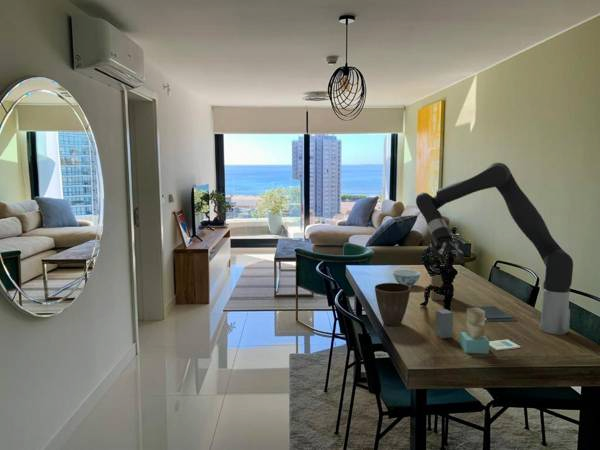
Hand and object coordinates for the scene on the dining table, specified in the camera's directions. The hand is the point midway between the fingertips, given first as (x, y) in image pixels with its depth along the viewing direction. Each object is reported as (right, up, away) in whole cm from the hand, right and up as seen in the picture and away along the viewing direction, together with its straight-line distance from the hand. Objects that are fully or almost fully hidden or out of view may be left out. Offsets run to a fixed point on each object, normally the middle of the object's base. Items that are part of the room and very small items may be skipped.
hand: (454, 263), depth 177 cm
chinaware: (-2, -19, +71) cm, 74 cm away
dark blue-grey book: (+24, -26, +21) cm, 41 cm away
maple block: (+2, -25, -17) cm, 30 cm away
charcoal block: (-6, -29, -4) cm, 29 cm away
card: (+13, -30, -14) cm, 35 cm away
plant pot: (-23, -27, +11) cm, 37 cm away
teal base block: (+1, -30, -16) cm, 34 cm away
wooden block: (+10, -22, +47) cm, 53 cm away
